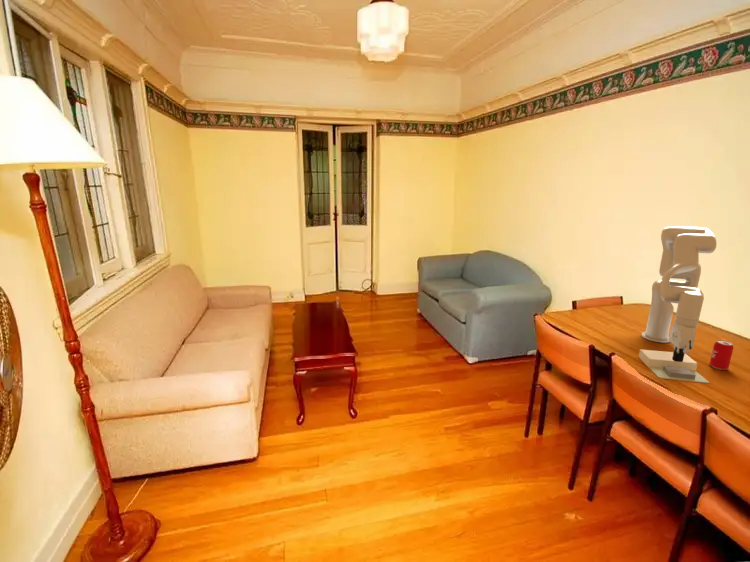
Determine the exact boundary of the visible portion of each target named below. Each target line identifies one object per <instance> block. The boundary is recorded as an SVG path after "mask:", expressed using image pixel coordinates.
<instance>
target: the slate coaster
mask: <svg viewBox="0 0 750 562" xmlns="http://www.w3.org/2000/svg"><path fill="white" fill-rule="evenodd" d="M663 371H664V372H665V373H666V374H667V375H668V376H669V377H676V378H685V379H695V376H696V375H695V374H694V373H693V372H692V371H690V370H689V369H688V368H679V367H669V366H664V367H663Z"/></svg>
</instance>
